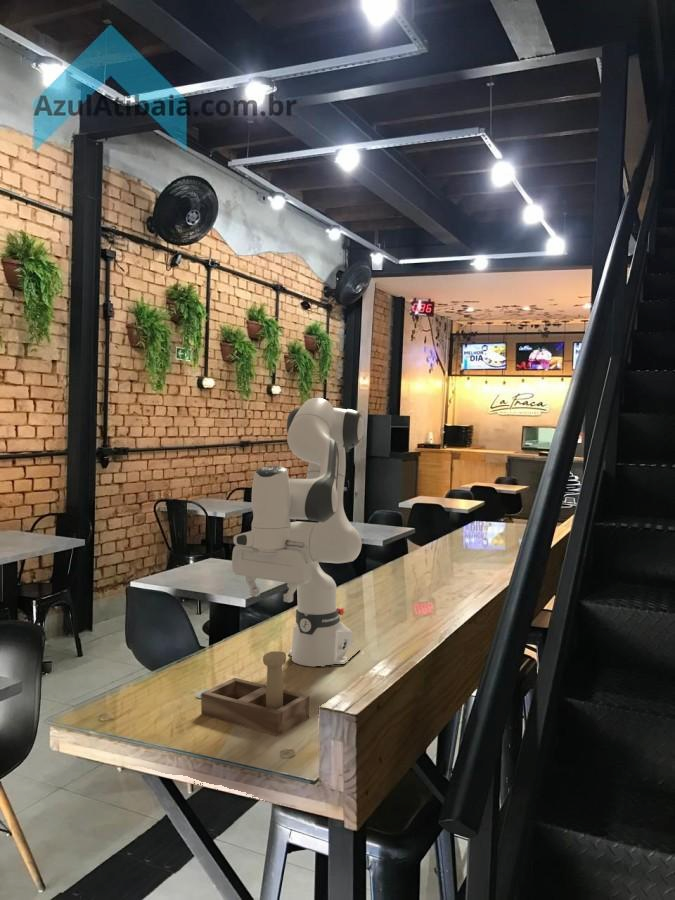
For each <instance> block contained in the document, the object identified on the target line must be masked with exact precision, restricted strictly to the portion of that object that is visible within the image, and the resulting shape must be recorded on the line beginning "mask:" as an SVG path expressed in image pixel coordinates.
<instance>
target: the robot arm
mask: <svg viewBox="0 0 675 900" xmlns="http://www.w3.org/2000/svg"><path fill="white" fill-rule="evenodd" d="M286 420H287V421H286V432H287V433H286V434H287V435H286V436H287V437H286V439H287V441H286V442H287V445H288V447H289V449H290V451H291V452H292V454H293V455H294V456H295V457H297V458H298V459H299V460H302V461H304V462H308V466H307V471H306V477H305V478H292V477H290V476H289V472H288V469H287V467H283V466H281V465H267V466H261V467H260V468H258V469H256V470H255V471H254V474H253V479H252V486H251V509H252V515H253V516H252V517H253V518H252V521H251V530H248V531H246V532H242V533H240V534H236V535H234V536H233V544H234V545H235V546H233V549H232V554H231V567H232V572H233V573H234V575H235V576H242V577H245V581H246V585H247V586H248V588H249V595H250V596H251V597H255V598H257V597H259V596H260V595H261V593H260V587H257V583H256V579H261V580H268V581H275V582H279V583H285V584H286V586H287V588H288V590H287V592H286V593H283V602H285V603H293V601H294V594H295V592H296V594H297V596H296V597H297V608H296V609H295V623H296V624H295V625H294V626H293V631H292V632H293V633H292V641H291V649H289V650H288V655H289V654H290V655H289V656H290V657H291V656H292V657H291V658H292V659H291V661H292V662H293V663H295V664H297V665H300V666H304V667H305V666H306V667H316V666H321V667H326V666H325V665H330V664H341V663H344V662H345V661H346V660H347V657H346V656H345V653H346V651H347V650H348V649H349V648H350V647H351V646H353V644H354V642H353V640H354V639H353V632H352V630H351V629H350V628H349V627H347V626H346V625H345V623H343V622H342V621H341V618H340V616H343V615H344V613H345V609H344V608H343V607H337V584H336V581H335V580H334V579H333V577H332V576H330V575H329V574H327V573H326V572H325V571H324V570H323V569H322V568H321V566H320V564H319V563H326V564H327V563H328V564H329V563H331V564H344V563H350V562H352V563H353V562H354V561H355V560H356V559H357V558H358V556H359V555H360V553H361V550H362V546H363V544H362V543H363V542H362V538H361V534H360V533H359V531H358V530H357V528H356V527H354V525H352V524H351V522H350V521H349V519H348V517H347V515H346V512H345V509H344V491H345V490H344V489H345V478H346V468H347V466H346V465H347V464H346V463H347V461H346V453H348V452H350V451H351V449H352V448H355V447H356V446H358V444H359V443H360V442H361V440H362V437H363V435H364V431H365V425H364V424H365V423H364V420H363V415H362V414H361V413H360V412H359V411H358V410H354V409H350V408H347V409H346V408H339V407H333V404H331V402H330V401H328V400H326V399H324V398H321V397H312V398H309V399H308V400H306V401H305V402H303V404H302V405H301V406H300V407H297V408H293V410H291V411H290V413H288V416H287V419H286ZM291 520H296V521H291ZM297 520H301V521H297ZM302 520H303V521H302ZM307 520H308V521H307ZM343 659H345V660H343Z"/></svg>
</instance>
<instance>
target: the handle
mask: <svg viewBox="0 0 675 900" xmlns="http://www.w3.org/2000/svg"><path fill="white" fill-rule="evenodd" d="M262 661H263V662H262V663H263V665H265V666H266V667H267V668H266V669H267V670H266V671H267V672H266V707H267V708H271V709H275V710H278V709H280V708H281V707H283V690H284V686H283V685H284V684H283V666H284V664H286V661H287V654H286V652H283V651H276V650H273V651H269V652H267V653H265V654H264V655H263V657H262Z"/></svg>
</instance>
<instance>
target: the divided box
mask: <svg viewBox="0 0 675 900" xmlns="http://www.w3.org/2000/svg"><path fill="white" fill-rule="evenodd" d="M266 686H267V684H262V683H258V682H253V681H249V680H246V679H242V678H238V677H233V678H231V679H229V680H227V681H225V682H223V683H220V684H218V685H216V686H214V687H212V688H208V689H209V690H207V691H205V692H203V693H201V696H200V697H201V699H200V700H201V702H200V706H201V712H200V713H201V714H200V715H202V716H206V717H209V718H212V719H216V720H219V721H223V722H226V723H230V724H233V725H237V726H240V727H244V728H247V729H251V730H254V731H258V732H260V733H264V734H268V735H271V736H274V737H281V736H282V735H283V734H285V733H286V732H289V731H291V729H293V728H295V727H296V726H298V725H300V724H301V723H303V722H304V721H306V720H307V719H309V718H310V695H305V694H303V693H300V692H299V693H298V692H295V691H292V690H291V691H290V690H286V689H283V707H281V708H280V709H278V710H275V709H271V708H267V707H266Z"/></svg>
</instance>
